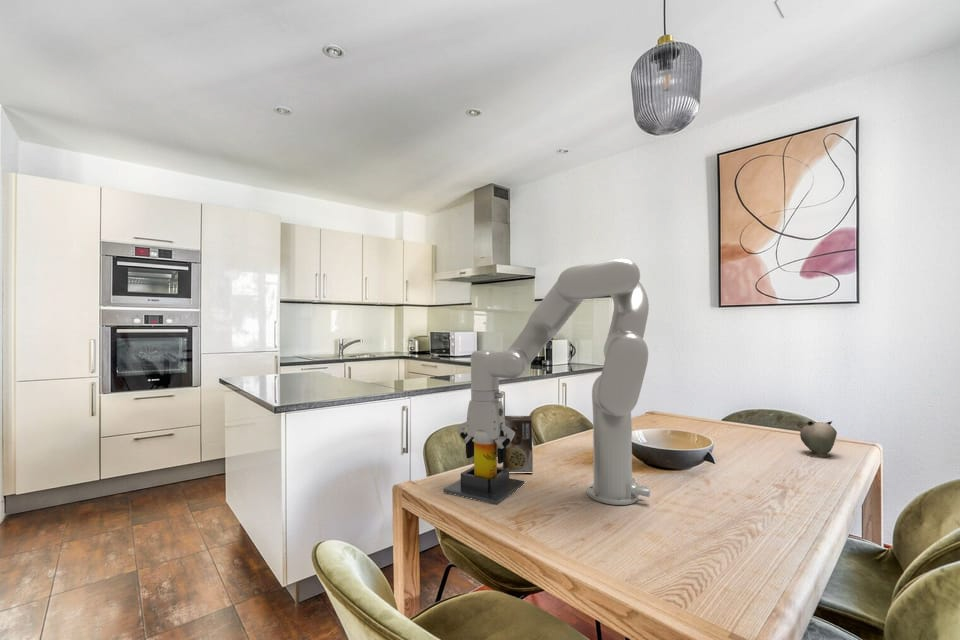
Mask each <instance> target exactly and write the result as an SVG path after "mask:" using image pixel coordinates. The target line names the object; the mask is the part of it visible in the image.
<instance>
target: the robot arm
mask: <svg viewBox="0 0 960 640" xmlns="http://www.w3.org/2000/svg"><path fill="white" fill-rule="evenodd" d="M640 271H641V270H640V268H639V267H638V265H637V264H636V263H635V262H634V261H633V260H630V259H628V258H621V257H620V258H613V259H607V260H602V261H598V262H592V263H588V264H587V263H586V264H580V265H575V266H571V267H567V268H566V269H565V270H563V271H562V272H561V273H560V274H559V276H558V278H557V280H556V282H555V283H554V284H553V286H552V287H551V289H550V290H549V291H548V293H546V295H544V297H543V298H542V300H541V301H540V302H539V304H538V305H536V307H535V308H534V309H533V311H532V313H531V314H530V316H529V318H528V320H527V323H526V324H525V326H524V328H523V329H522V331H521V332H520V333H519V335H518V336H517V337H516V339H515V340H514V341H513V343H512V344H511V345H510V346H509V347H508V349H507V350H504V351H495V350H489V349H488V350H484V349H483V350H475V351H473V352H471V354H470V400H469V402H468V405H467V406H468V407H467V411H466V413H467V414H466V421H465V422H462V423H460V424H459V425H457V429H458V432H459V436H460V438H462V440H463V443H464V444H465V454H466V456H465V457H466V459H471V458H473V457H474V434H475V432H476V431H477V430H478V431H486V433H487V434H488V436H489V439H490V440H495V442H496V443H497V447H498V448H497V465H498V464H499V465H501V464H503V462H504V461H505V459H506V446H508V444H509V443H510V442H511V441H512V439H513V437H514V435H515V432H514V431H513V430H512V429H510V428H509V427H507V426H506V425H505V416H506V415H505V410H504V406H503V402H502V401H501V400H500V399H502V398H503V397H504V394H503V392H500V387H499V386H500V383H499V382H500V378H502V379H510V380H512V379H513V380H514V379H518V378H520V377H521V376H522V375H523V374H524V373H525V371H526V370H527V369H528V367H529V366H530V365H531V363H532V362H533V361H534V359H535V358H536V357H537V356H538V354H539V353H540V352H541V350H542V349H543V348H544V347H545V346H546V345H547V344H548V343H549V342H550V341H551V340H552V339H553V338H555V336H556V335H557V334H558V333H559V332H560V330H561V329H562V328H563V326H564V325H566V323H567V321H568V320H569V319H570V317H571V316H572V315H573V314H574V312H575V311H576V310H577V309H578V307H579V306H580V305H581V304H582V302H583V301H584V300H589V299H595V298H601V297H602V298H603V297H607V296H610V297H611V299H612V301H613V302H612V303H613V312H612V317H611V323H610V324H609V325H610V326H609V329H608V333H607V337H606V339H605V343H604V346H603V356H604V363H603V365H602V366H603V367H602V370H601V374H600V375H599V376H598V377H596V379H595V380H594V382H593V385H592V388H591V403H592V426H593V427H592V431H593V434H592V439H593V441H592V444H593V446H592V449H593V457H592V458H593V459H592V460H593V469H592V471H593V484H591V485H590V486H588V488H587V496H588V497H589V498H591V499H593V500H594V501H596V502H599V503H602V504H606V505H607V504H608V505H615V506H625V505H627V506H628V505H631V504H634V503H637V502H638V501H639V499H640V498H639V497H640V496H642V497H646V498H651V489H650V488H648V487H647V486H646V485H644V484H642V485H640V484H638V483H636V478H635V477H633V448H632V447H633V441H632V439H633V438H632V437H633V436H632V435H633V428H632V426H633V425H632V411H633V410H634V409H635V407H636V405H637V403H638V400H639V398H640V394H641V390H642V386H643V383H644V382H643V381H644V379H645V378H644V377H645V374H646V370H647V366H648V361H649V348H648V346H647V343H646V341H645V340H644V335H645V333H646V327H647V322H648V316H649V310H650V309H649V308H650V307H649V305H650V304H649V299H648V295H647V292H646V290H645V288H644V286H643V284H642V282H641V281H640V279H641V272H640ZM465 428H466V429H465ZM506 433H507V435H508V436H507V438H506V439H505V438H504V436H505V434H506Z"/></svg>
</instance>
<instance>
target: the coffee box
mask: <svg viewBox="0 0 960 640" xmlns="http://www.w3.org/2000/svg"><path fill="white" fill-rule="evenodd" d="M504 416H505V425H506V426H507V427H509V428H510V429H512V430H513V431H514V432H515V435H514V437H513V439H512V441H511V442H510V443H509V444H508V446H506V459H505V461H504V462H503V463H502V468H503V469H506V470H509V472H533V473H534V471H533V470H534V469H533V468H534V463H533V461H534V460H533V417H532V415H504ZM507 436H508V435H507V433H506V434H505V436H504V438H505V439H506V438H507Z"/></svg>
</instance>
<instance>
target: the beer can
mask: <svg viewBox="0 0 960 640" xmlns="http://www.w3.org/2000/svg"><path fill="white" fill-rule="evenodd" d="M473 441H474V456H473V457H474V458H473V461H474V462H473V463H474V464H473V467H474V475H476V476H481V477H486V478H492V477H493V476H495V475H497V467H498V462H497V449H498V448H497V447H498V444H497V443H496V442H495V440H490V439H489V436H488V434H487V433H486V431H478V430H477V431H476V432H475V434H474V439H473Z"/></svg>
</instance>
